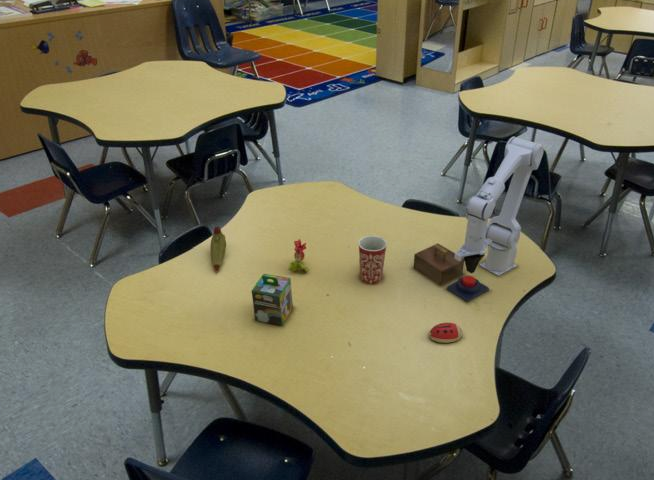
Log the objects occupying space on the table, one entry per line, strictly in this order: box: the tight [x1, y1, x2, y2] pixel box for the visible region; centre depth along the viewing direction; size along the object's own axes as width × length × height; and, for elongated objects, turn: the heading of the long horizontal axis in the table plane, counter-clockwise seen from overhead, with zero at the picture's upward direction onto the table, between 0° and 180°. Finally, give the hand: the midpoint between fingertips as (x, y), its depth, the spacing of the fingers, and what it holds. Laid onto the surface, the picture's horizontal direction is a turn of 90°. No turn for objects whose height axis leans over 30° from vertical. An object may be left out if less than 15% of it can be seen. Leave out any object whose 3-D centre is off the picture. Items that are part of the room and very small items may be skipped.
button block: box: [446, 276, 490, 303], centre depth 184 cm, size 10×8×3 cm
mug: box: [357, 235, 388, 285], centre depth 190 cm, size 13×9×14 cm
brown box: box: [412, 255, 465, 286], centre depth 193 cm, size 10×12×5 cm
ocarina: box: [209, 226, 227, 272], centre depth 201 cm, size 20×5×10 cm, turn 4°
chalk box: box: [251, 273, 294, 327], centre depth 173 cm, size 9×9×15 cm
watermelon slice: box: [428, 322, 463, 344], centre depth 166 cm, size 7×10×4 cm
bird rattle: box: [288, 238, 308, 273], centre depth 195 cm, size 6×11×9 cm
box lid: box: [414, 243, 465, 272], centre depth 191 cm, size 11×12×4 cm
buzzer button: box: [462, 275, 477, 287], centre depth 183 cm, size 4×4×2 cm
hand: (470, 271), depth 181 cm, fingers closed
